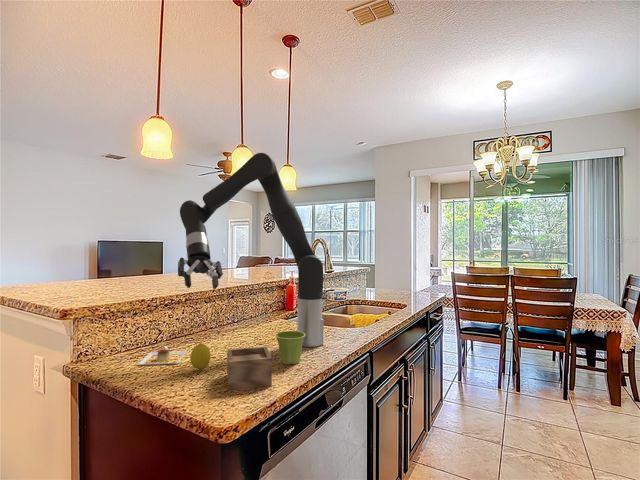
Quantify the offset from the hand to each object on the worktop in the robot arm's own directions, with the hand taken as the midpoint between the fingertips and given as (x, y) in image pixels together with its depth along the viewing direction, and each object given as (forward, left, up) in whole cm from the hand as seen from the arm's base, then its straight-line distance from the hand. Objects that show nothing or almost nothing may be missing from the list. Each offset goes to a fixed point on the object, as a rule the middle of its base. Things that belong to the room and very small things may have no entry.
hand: (202, 287), depth 113 cm
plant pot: (-27, +11, -23) cm, 37 cm away
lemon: (0, +12, -23) cm, 26 cm away
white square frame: (+12, -2, -24) cm, 27 cm away
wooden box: (-13, +23, -23) cm, 35 cm away
